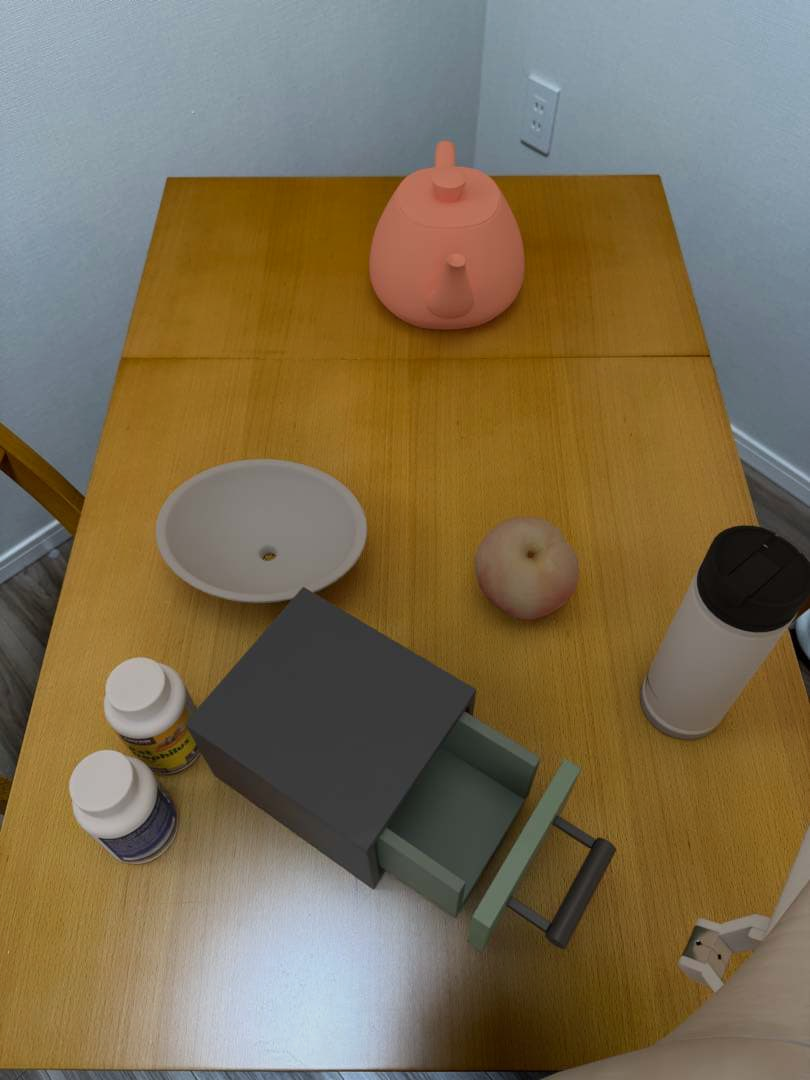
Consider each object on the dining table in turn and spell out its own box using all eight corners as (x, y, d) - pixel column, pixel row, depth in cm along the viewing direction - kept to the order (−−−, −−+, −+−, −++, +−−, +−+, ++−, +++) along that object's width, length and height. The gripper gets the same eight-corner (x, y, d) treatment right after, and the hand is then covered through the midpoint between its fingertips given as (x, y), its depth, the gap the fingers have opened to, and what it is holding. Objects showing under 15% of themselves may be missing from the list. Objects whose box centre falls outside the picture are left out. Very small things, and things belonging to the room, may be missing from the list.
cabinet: (470, 744, 65) (476, 689, 57) (374, 890, 59) (366, 851, 51) (316, 648, 69) (302, 586, 62) (213, 775, 63) (183, 723, 56)
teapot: (533, 370, 87) (549, 259, 76) (369, 373, 87) (361, 263, 76) (512, 222, 102) (523, 110, 91) (371, 225, 102) (365, 114, 91)
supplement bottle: (136, 785, 63) (92, 731, 55) (132, 716, 66) (90, 655, 58) (212, 767, 64) (180, 711, 55) (204, 700, 67) (173, 638, 59)
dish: (144, 613, 72) (127, 581, 67) (200, 481, 80) (188, 446, 76) (349, 648, 69) (344, 617, 65) (386, 509, 77) (383, 474, 73)
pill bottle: (195, 808, 62) (161, 759, 54) (152, 878, 59) (110, 837, 51) (133, 778, 63) (91, 725, 55) (89, 845, 61) (38, 800, 53)
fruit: (499, 649, 69) (507, 597, 63) (459, 572, 73) (462, 516, 67) (586, 616, 71) (603, 563, 64) (542, 542, 75) (553, 485, 68)
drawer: (618, 840, 59) (642, 804, 53) (539, 993, 54) (554, 974, 48) (407, 709, 65) (405, 662, 59) (316, 835, 60) (304, 799, 54)
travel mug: (619, 700, 66) (684, 557, 50) (674, 651, 69) (754, 498, 52) (682, 760, 64) (773, 628, 47) (738, 706, 66) (843, 563, 50)
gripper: (992, 800, 41) (736, 764, 52) (859, 1259, 31) (581, 1094, 43) (1037, 878, 43) (781, 827, 55) (926, 1329, 34) (644, 1154, 45)
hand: (692, 947), depth 49 cm, fingers closed
